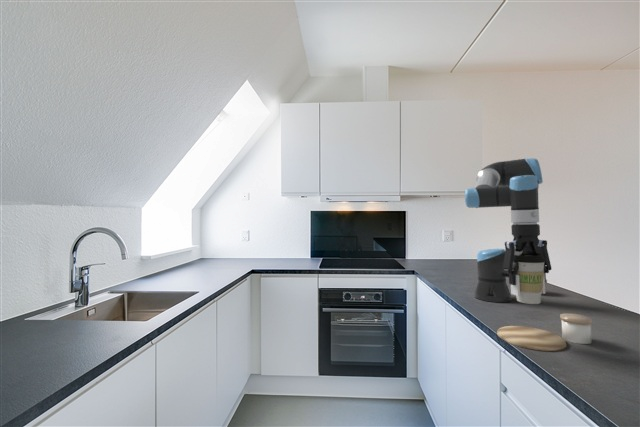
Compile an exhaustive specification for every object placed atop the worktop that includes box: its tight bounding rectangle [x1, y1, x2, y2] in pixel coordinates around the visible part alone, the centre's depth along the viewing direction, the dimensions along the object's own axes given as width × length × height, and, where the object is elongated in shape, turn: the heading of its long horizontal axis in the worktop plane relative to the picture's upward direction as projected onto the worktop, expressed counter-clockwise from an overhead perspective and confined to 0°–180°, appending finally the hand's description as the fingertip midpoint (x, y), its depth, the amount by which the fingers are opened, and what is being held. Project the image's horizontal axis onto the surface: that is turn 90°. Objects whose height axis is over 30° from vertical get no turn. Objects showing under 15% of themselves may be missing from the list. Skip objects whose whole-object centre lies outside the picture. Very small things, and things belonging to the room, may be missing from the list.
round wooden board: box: [496, 325, 567, 352], centre depth 95 cm, size 18×18×1 cm
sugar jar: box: [559, 313, 593, 345], centre depth 93 cm, size 8×8×7 cm
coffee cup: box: [513, 253, 546, 305], centre depth 95 cm, size 10×10×15 cm
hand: (528, 293), depth 95 cm, fingers closed on coffee cup, 9 cm apart
